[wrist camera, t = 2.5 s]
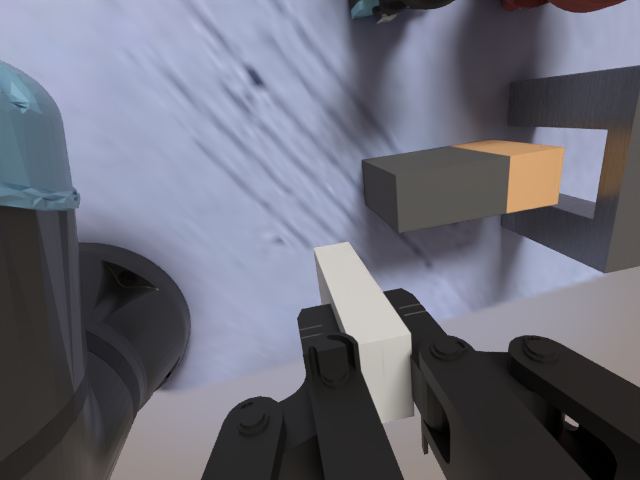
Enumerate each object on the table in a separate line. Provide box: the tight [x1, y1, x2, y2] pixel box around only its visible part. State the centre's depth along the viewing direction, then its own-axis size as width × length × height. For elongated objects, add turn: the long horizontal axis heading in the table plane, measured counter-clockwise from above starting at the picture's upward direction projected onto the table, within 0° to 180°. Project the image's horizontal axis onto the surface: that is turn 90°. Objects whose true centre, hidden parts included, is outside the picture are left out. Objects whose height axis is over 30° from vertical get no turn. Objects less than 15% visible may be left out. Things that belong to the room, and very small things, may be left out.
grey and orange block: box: [362, 139, 565, 233], centre depth 27 cm, size 12×4×8 cm, turn 97°
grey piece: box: [501, 65, 640, 273], centre depth 27 cm, size 3×13×11 cm, turn 7°
